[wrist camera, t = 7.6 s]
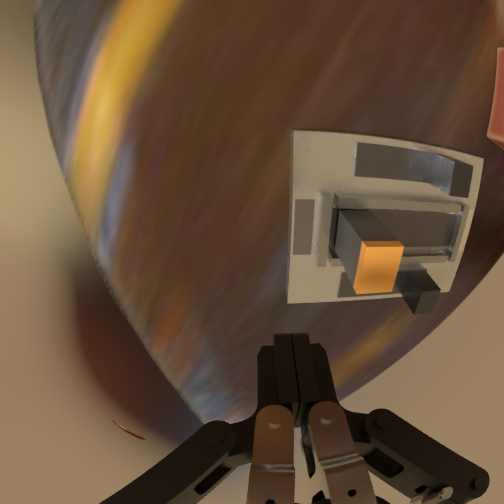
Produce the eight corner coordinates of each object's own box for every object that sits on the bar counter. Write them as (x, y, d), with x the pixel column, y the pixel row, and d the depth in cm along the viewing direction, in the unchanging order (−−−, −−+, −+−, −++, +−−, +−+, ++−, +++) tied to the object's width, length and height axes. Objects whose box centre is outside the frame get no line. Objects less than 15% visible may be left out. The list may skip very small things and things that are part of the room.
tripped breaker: (339, 210, 21) (366, 247, 16) (370, 210, 21) (404, 246, 16) (334, 249, 23) (356, 294, 18) (364, 248, 23) (391, 291, 17)
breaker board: (290, 129, 21) (301, 134, 16) (472, 154, 20) (507, 168, 15) (285, 291, 28) (291, 329, 23) (441, 281, 28) (463, 310, 23)
